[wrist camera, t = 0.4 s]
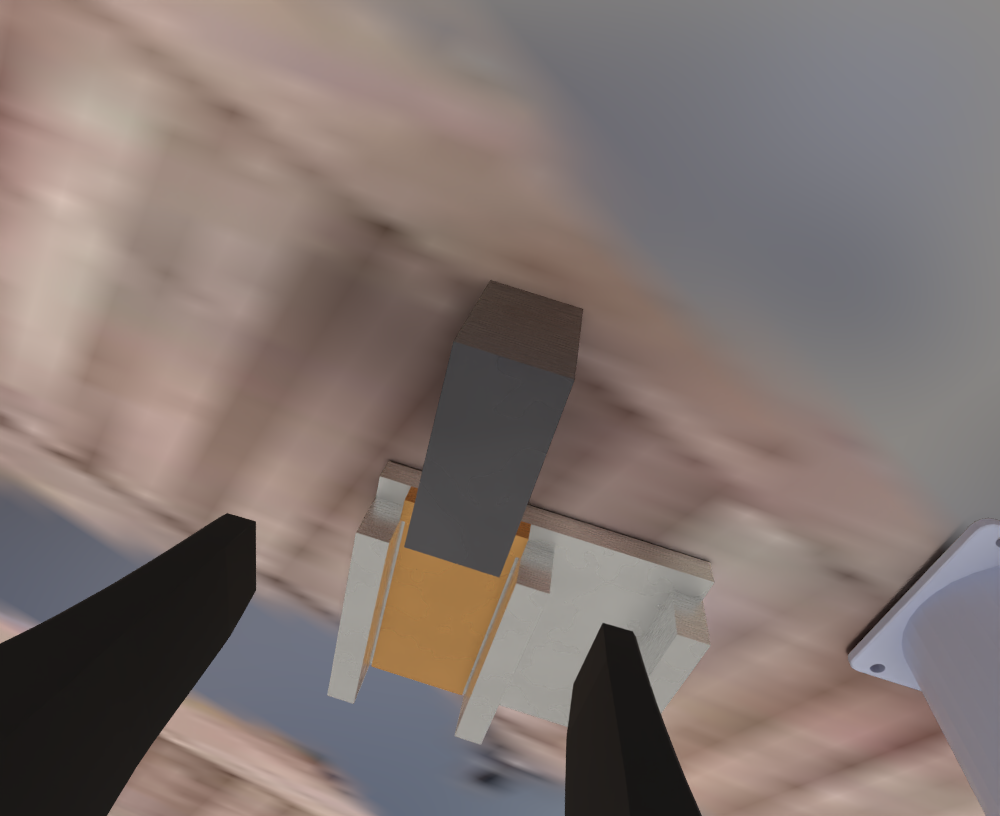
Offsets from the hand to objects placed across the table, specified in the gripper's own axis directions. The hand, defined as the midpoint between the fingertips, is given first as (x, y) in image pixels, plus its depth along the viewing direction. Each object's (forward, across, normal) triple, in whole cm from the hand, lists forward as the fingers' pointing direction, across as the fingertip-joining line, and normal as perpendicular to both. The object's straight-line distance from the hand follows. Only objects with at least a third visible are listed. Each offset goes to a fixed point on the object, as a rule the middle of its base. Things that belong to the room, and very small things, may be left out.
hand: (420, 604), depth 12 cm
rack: (+9, -3, +10) cm, 14 cm away
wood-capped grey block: (+10, 0, 0) cm, 10 cm away
